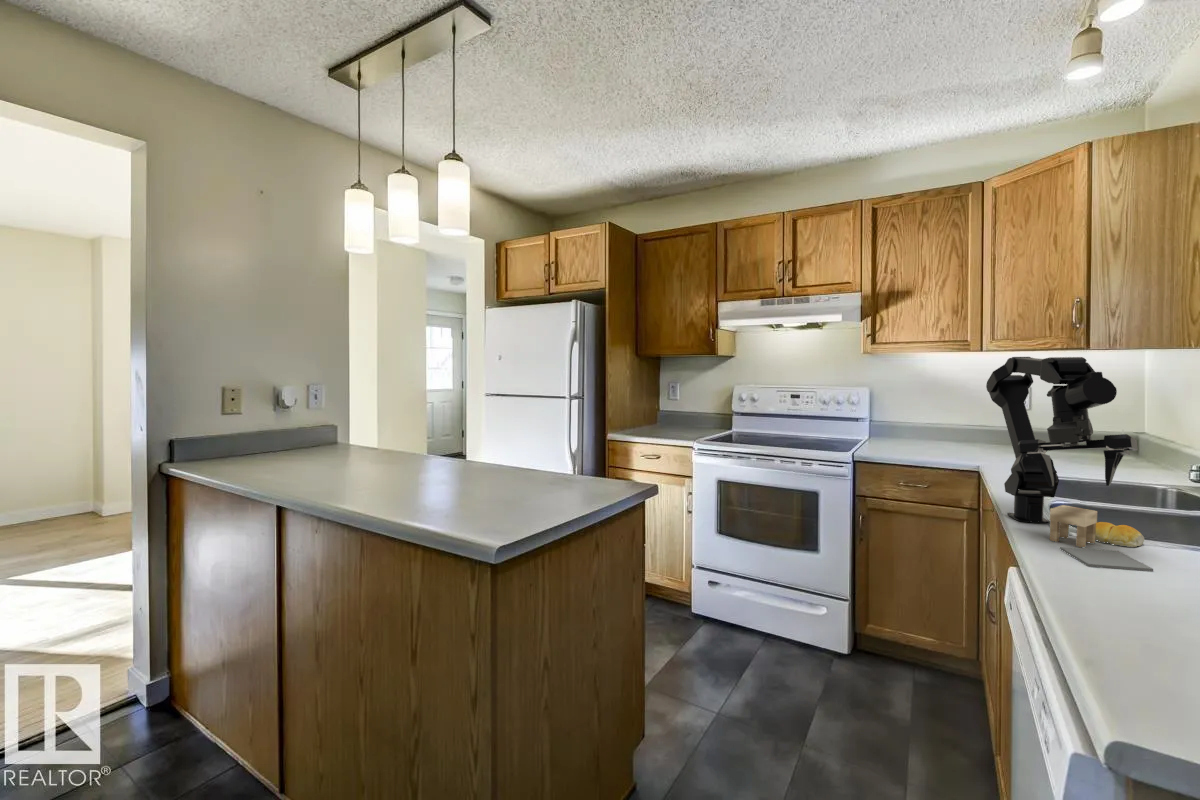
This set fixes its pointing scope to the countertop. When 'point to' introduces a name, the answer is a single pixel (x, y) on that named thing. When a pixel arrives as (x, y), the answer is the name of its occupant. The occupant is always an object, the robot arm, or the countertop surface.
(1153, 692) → the countertop surface
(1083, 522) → the stool
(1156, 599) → the countertop surface
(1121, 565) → the mat
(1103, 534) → the bread roll
